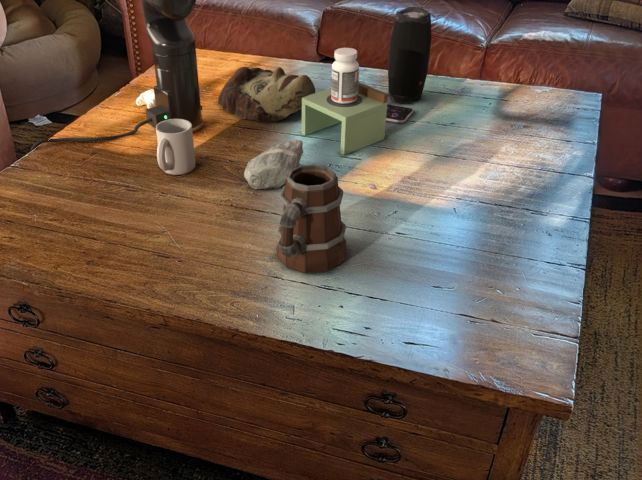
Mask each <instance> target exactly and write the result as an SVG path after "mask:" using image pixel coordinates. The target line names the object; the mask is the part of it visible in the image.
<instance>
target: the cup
mask: <svg viewBox="0 0 642 480" xmlns="http://www.w3.org/2000/svg"><path fill="white" fill-rule="evenodd" d="M155 134H156V140H157V147H156V161H157V164H158V167H159V168H160V170H162V171H163V172H164V173H166V174H168V175H174V176H179V175H180V176H181V175H186V174H189V173H190V172H192V171H193V170H194V169H195V168H196V154H195V153H196V152H195V145H194V143H195V142H194V132H193V133H192V125H191V123H190V122H189V121H187V120H184V119H169V120H165V121H162V122H160V123H158V124H157V125H156V128H155Z"/></svg>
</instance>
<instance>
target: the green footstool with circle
mask: <svg viewBox="0 0 642 480" xmlns="http://www.w3.org/2000/svg"><path fill="white" fill-rule="evenodd" d="M388 98H389V93H387V92H384V91H383V90H380V89H377V88H375V87H373V86H370V85H368V84H364V83H362V82H360V81H359V82H358V98H357V100H356V101H355V102H352V103H348V104H341V103H336V102H334V101H333V100H332V99H331V87H329V88H325V89H324V90H320V91H318V92H316V93H314V94H311V95H309V96H306V97H303V98H302V108H301V134H302V135H303V136H307V135H310V134H313V133H316V132H318V131H321V130H323V129H326V128H330V127H332V126H335V125H337V124H340V123H341V128H340V129H341V131H340V132H341V134H340V154H341V155H343V156H345V155H348V154H350V153H353V152H355V151H358V150H361V149H363V148H365V147H368V146H370V145H372V144H375V143H377V142H381V141H382V140H385V135H386V123H387V120H386V113H387V104H388V100H389V99H388Z"/></svg>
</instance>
